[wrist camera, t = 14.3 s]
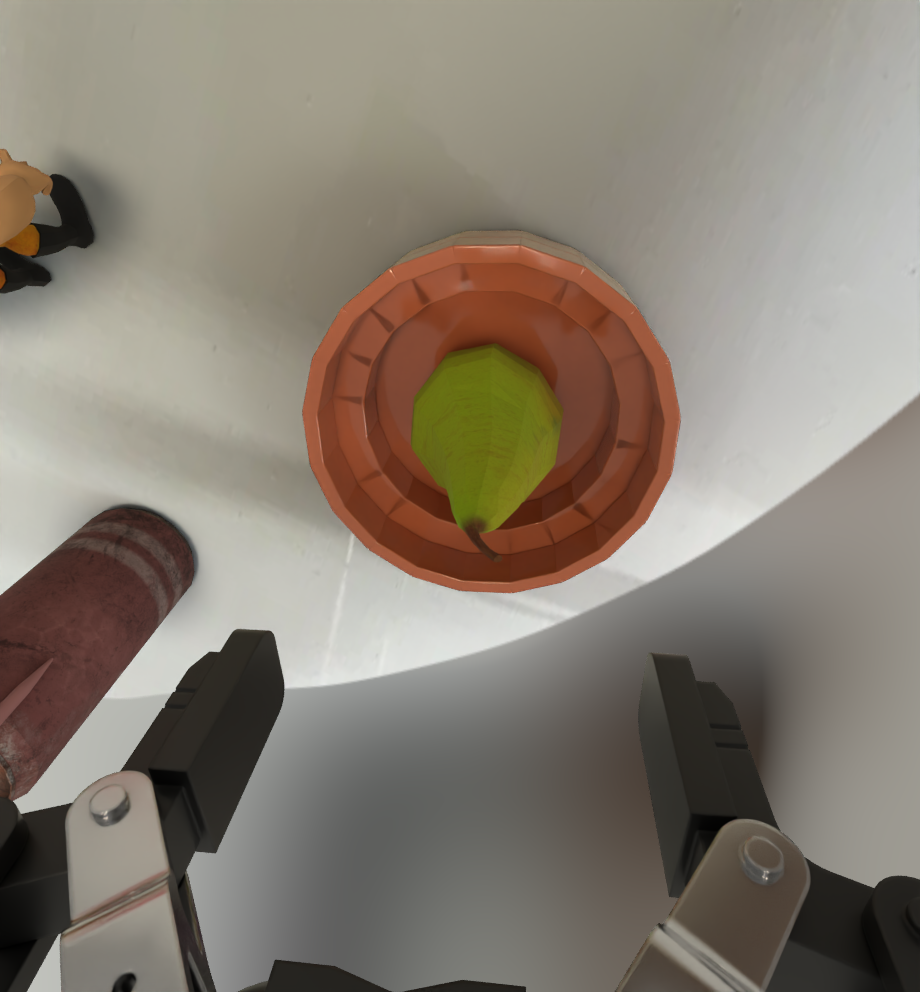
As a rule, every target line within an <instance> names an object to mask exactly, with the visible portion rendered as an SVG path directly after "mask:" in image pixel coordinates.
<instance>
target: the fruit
mask: <svg viewBox="0 0 920 992" xmlns="http://www.w3.org/2000/svg"><path fill="white" fill-rule="evenodd" d="M563 411H564V409H563V408H562V406H561V404H560V403H559V401H558V399H557V398H556V396H555V394H554V393H553V391H552V389H551V388H550V386H549V384H548V383H547V381H546V379H545V378H544V376H543V374H542V373H541V371H540V369H539V368H537V367H536V366H534V365H532V364H531V363H529V362H527V361H525V360H524V359H522V358H520V357H519V356H517V355H515V354H514V353H512V352H510V351H508V350H507V349H505V348H503V347H502V346H500V345H498V344H496V343H493V344H489V345H484V346H479V347H474V348H469V349H464V350H459V351H454V352H449V353H447V355H446V356H445V357H444V359H443V360H442V361H441V363H440V364H439V365H438V367H437V368H436V369H435V370H434V372H433V373H432V374H431V376H430V377H429V378H428V380H427V381H426V382H425V384H424V385H423V386H422V388H421V389H420V390H419V391H418V393H417V394H416V395H415V396H414V404H413V418H412V431H411V447H412V450H413V451H414V452H415V454H416V455H417V457H418V458H419V459H420V461H421V462H422V464H423V465H424V466H425V468H426V469H427V470H428V472H429V473H430V475H431V476H432V477H433V479H434V480H435V482H436V483H437V484H438V486H440V487H443V488H445V489H446V490H447V493H448V496H449V500H450V505H451V509H452V513H453V515H454V518H455V520H456V522H457V525H458V527H459V528H460V529H462V530H463V531H464V532H465V533H466V534H467V535H468V537H469V538H470V540H471V541H472V543H473V544H474V545H475V546H476V547H477V548H478V549H479V550H480V551H481V552H482V553H483V554H485V555H486V556H487V557H488V558H490V559H491V560H492V561H493V562H497V563H498V562H500V561H502V556H501V555H499V554H498V553H496V552H495V551H493V550H492V549H490V548H489V547H488V546H487V545H486V544H485V542H484V541H483V540H482V539H481V537H480V535H479V534H481V533H487V532H490V531H493V530H495V529H496V528H498V527H499V526H500V525H501V524H502V523H503V522H504V521H505V520H506V519H507V518H508V517H509V516H510V515H511V514H512V513H513V512H514V511H515V510H516V509H517V508H518V507H519V506H520V504H521V503H522V502H524V501H525V500H526V499H527V497H528V496H529V495H530V494H531V493H532V492H533V490H534V489H535V488H536V487H537V486H538V484H539V483H540V482H541V481H542V480H543V479H544V477H545V476H546V475H547V474H548V473H549V471H550V470H551V469H552V468H553V466H554V465H555V462H556V455H557V449H558V443H559V436H560V430H561V423H562V417H563Z"/></svg>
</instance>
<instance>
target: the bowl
mask: <svg viewBox="0 0 920 992" xmlns="http://www.w3.org/2000/svg"><path fill="white" fill-rule="evenodd" d="M493 343H496V344H498V345H500V346H502V347H503V348H505V349H507V350H508V351H510V352H512V353H514V354H515V355H517V356H519V357H520V358H522V359H524V360H525V361H527V362H529V363H531V364H532V365H534V366H536V367H537V368H539V369H540V371H541V373H542V374H543V376H544V378H545V379H546V381H547V383H548V384H549V386H550V388H551V389H552V391H553V393H554V394H555V396H556V398H557V399H558V401H559V403H560V404H561V406H562V408H563V409H564V411H563V417H562V423H561V430H560V436H559V443H558V449H557V455H556V462H555V465H554V466H553V468H552V469H551V470H550V471H549V473H548V474H547V475H546V476H545V477H544V479H543V480H542V481H541V482H540V483H539V484H538V486H537V487H536V488H535V489H534V490H533V492H532V493H531V494H530V495H529V496H528V497H527V499H526V500H525V501H524V502H522V503H521V504H520V506H519V507H518V508H517V509H516V510H515V511H514V512H513V513H512V514H511V515H510V516H509V517H508V518H507V519H506V520H505V521H504V522H503V523H502V524H501V525H500V526H499V527H498V528H496V529H495V530H493V531H490V532H487V533H481V534H479V535H480V537H481V539H482V540H483V541H484V542H485V544H486V545H487V546H488V547H489V548H490V549H492V550H493V551H495V552H496V553H498V554H499V555H501V556H502V561H500V562H498V563H497V562H493V561H492V560H491V559H490V558H488V557H487V556H486V555H485V554H483V553H482V552H481V551H480V550H479V549H478V548H477V547H476V546H475V545H474V544H473V543H472V541H471V540H470V538H469V537H468V535H467V534H466V533H465V532H464V531H463V530H462V529H460V528H459V527H458V525H457V522H456V520H455V518H454V515H453V513H452V509H451V505H450V500H449V496H448V493H447V490H446V489H445V488H443V487H440V486H438V484H437V483H436V482H435V480H434V479H433V477H432V476H431V475H430V473H429V472H428V470H427V469H426V468H425V466H424V465H423V464H422V462H421V461H420V459H419V458H418V457H417V455H416V454H415V452H414V451H413V450H412V447H411V431H412V418H413V404H414V396H415V395H416V394H417V393H418V391H419V390H420V389H421V388H422V386H423V385H424V384H425V382H426V381H427V380H428V378H429V377H430V376H431V374H432V373H433V372H434V370H435V369H436V368H437V367H438V365H439V364H440V363H441V361H442V360H443V359H444V357H445V356H446V355H447V353H449V352H454V351H459V350H464V349H469V348H474V347H479V346H484V345H489V344H493ZM302 412H303V414H302V415H303V421H304V428H305V435H306V442H307V448H308V455H309V462H310V465H311V468H312V470H313V472H314V474H315V476H316V478H317V480H318V482H319V484H320V487H321V489H322V491H323V493H324V495H325V497H326V499H327V501H328V503H329V505H330V507H331V509H332V511H334V513H335V514H336V515H337V516H338V518H339V519H340V520H341V521H342V522H343V523H344V524H345V525H346V526H347V527H348V528H349V529H350V530H351V531H352V533H353V534H354V535H355V536H356V537H357V538H358V539H359V540H360V541H361V542H362V543H363V544H364V545H365V547H366V548H368V549H369V550H370V551H372V552H373V553H375V554H376V555H378V556H380V557H381V558H383V559H385V560H386V561H388V562H389V563H391V564H393V565H394V566H396V567H398V568H399V569H401V570H402V571H404V572H406V573H407V574H409V575H412V576H413V577H416V578H419V579H422V580H425V581H429V582H432V583H435V584H439V585H442V586H445V587H449V588H452V589H455V590H458V591H460V590H461V591H472V592H496V593H511V592H512V593H516V592H520V591H525V590H529V589H534V588H539V587H543V586H548V585H553V584H557V583H561V582H564V581H566V580H568V579H570V578H572V577H574V576H576V575H577V574H579V573H581V572H583V571H585V570H587V569H589V568H591V567H593V566H595V565H597V564H599V563H601V562H602V561H604V560H606V559H608V558H609V557H610V556H611V555H612V554H613V553H614V552H615V551H616V550H618V549H619V548H620V547H621V546H622V545H623V544H624V543H625V542H626V541H627V540H628V539H629V538H630V537H631V536H632V535H633V534H634V533H635V532H636V531H637V530H638V529H639V528H640V527H641V526H642V525H643V524H645V522H646V521H647V520H648V518H649V516H650V514H651V512H652V510H653V508H654V507H655V505H656V503H657V501H658V499H659V497H660V495H661V494H662V492H663V490H664V488H665V486H666V484H667V482H668V481H669V479H670V477H671V474H672V472H673V466H674V459H675V453H676V447H677V441H678V434H679V428H680V422H681V420H680V419H681V415H680V410H679V405H678V400H677V395H676V390H675V385H674V379H673V374H672V369H671V364H670V361H669V359H668V357H667V355H666V354H665V352H664V350H663V349H662V347H661V346H660V344H659V342H658V341H657V339H656V337H655V336H654V334H653V332H652V331H651V329H650V328H649V326H648V324H647V323H646V321H645V319H644V318H643V316H642V314H641V313H640V311H639V310H638V308H637V307H636V305H635V304H634V302H633V301H632V300H631V298H630V297H629V295H628V294H627V293H626V291H625V290H624V288H623V287H622V286H621V285H620V284H619V283H618V282H617V281H616V280H615V279H613V278H612V277H611V276H610V275H608V274H607V273H606V272H605V271H603V270H602V269H601V268H600V267H598V266H597V265H596V264H595V263H593V262H592V261H591V260H590V259H588V258H587V257H586V256H585V255H583V254H582V253H581V252H579V251H578V250H576V249H575V248H572V247H569V246H566V245H563V244H560V243H557V242H554V241H551V240H548V239H545V238H542V237H540V236H537V235H534V234H531V233H528V232H525V231H521V230H509V231H464V232H460V233H457V234H455V235H452V236H449V237H446V238H444V239H441V240H438V241H435V242H433V243H430V244H427V245H425V246H422V247H419V248H416V249H414V250H412V251H410V252H408V253H407V254H406V255H405V256H403V257H402V258H401V259H400V260H399V261H397V262H396V263H395V264H394V265H392V266H391V267H390V268H389V269H388V270H386V271H385V272H384V273H383V274H382V275H380V276H379V277H378V278H377V279H376V280H374V281H373V282H372V283H371V284H369V285H368V286H367V287H366V288H365V289H363V290H362V291H361V292H360V293H359V294H357V295H356V296H355V297H354V298H353V299H351V300H350V301H349V302H348V303H347V304H345V305H344V306H343V307H342V308H341V310H340V311H339V313H338V315H337V317H336V318H335V320H334V322H333V323H332V325H331V327H330V328H329V330H328V332H327V334H326V335H325V337H324V339H323V340H322V342H321V344H320V345H319V347H318V349H317V351H316V352H315V354H314V356H313V359H312V362H311V367H310V372H309V378H308V383H307V389H306V394H305V399H304V405H303V410H302Z"/></svg>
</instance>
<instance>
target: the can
mask: <svg viewBox="0 0 920 992" xmlns="http://www.w3.org/2000/svg"><path fill="white" fill-rule="evenodd" d="M194 572H195V571H194V564H193V557H192V551H191V549H190V547H189V545H188V543H187V541H186V539H185V538H184V537H183V535H182V534H181V533H180V532H179V531H178V530H177V529H176V528H175V527H174V526H173V525H172V524H170V523H169V522H167V521H166V520H164V519H163V518H162V517H160V516H157V515H155V514H152V513H150V512H147V511H144V510H137V509H129V508H120V509H114V510H108V511H104V512H102V513H101V514H99V515H97V516H96V517H94V518H92V519H91V520H90V521H89V522H88V523H86V524H85V525H84V526H83V527H82V528H80V529H79V530H78V531H77V532H76V533H74V534H73V535H72V536H71V537H70V538H68V539H67V540H66V541H65V542H64V543H63V544H61V545H60V546H59V547H58V548H57V549H55V550H54V551H53V552H52V553H51V554H49V555H48V556H47V557H46V558H45V559H43V560H42V561H41V562H40V563H39V564H37V565H36V566H35V567H34V568H33V569H31V570H30V571H29V572H28V573H27V574H25V575H24V576H23V577H22V578H21V579H19V580H18V581H17V582H16V583H15V584H13V585H12V586H11V587H10V588H9V589H7V590H6V591H5V592H4V593H3V594H2V595H0V797H5V798H8V799H10V800H11V801H13V800H15V799H17V798H19V797H21V796H23V795H25V794H27V793H28V792H29V791H30V789H31V788H32V787H33V786H34V785H35V784H36V782H37V781H38V780H39V779H40V777H41V776H42V775H43V774H44V772H45V771H46V770H47V768H48V767H49V766H50V765H51V763H52V762H53V761H54V759H55V758H56V757H57V756H58V754H59V753H60V752H61V750H62V749H63V748H64V747H65V745H66V744H67V743H68V741H69V740H70V739H71V738H72V736H73V735H74V734H75V733H76V731H77V730H78V729H79V728H80V726H81V725H82V724H83V722H84V721H85V720H86V718H87V717H88V716H89V714H90V713H91V712H92V711H93V710H94V708H95V707H96V706H97V704H98V703H99V702H100V701H101V699H102V698H103V697H104V696H105V694H106V693H107V692H108V690H109V689H110V688H111V687H112V685H113V684H114V683H115V681H116V680H117V679H118V678H119V676H120V675H121V674H122V673H123V671H124V670H125V669H126V667H127V666H128V665H129V664H130V662H131V661H132V660H133V658H134V657H135V656H136V655H137V653H138V652H139V651H140V650H141V648H142V647H143V646H144V644H145V643H146V642H147V641H148V639H149V638H150V637H151V635H152V634H153V633H154V632H155V630H156V629H157V628H158V626H159V625H160V624H161V623H162V621H163V620H164V619H165V618H166V616H167V615H168V614H169V612H170V611H171V610H172V609H173V607H174V606H175V605H176V603H177V602H178V601H179V600H180V598H181V597H182V596H183V595H184V593H185V592H186V591H187V589H188V588H189V587H190V586H191V584H192V580H193V576H194Z"/></svg>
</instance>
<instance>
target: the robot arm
mask: <svg viewBox="0 0 920 992" xmlns="http://www.w3.org/2000/svg"><path fill="white" fill-rule="evenodd" d="M283 698H284V679H283V674H282V669H281V665H280V660H279V655H278V651H277V646H276V641H275V637H274V634H273V633H272V632H271V631H265V630H246V629H236V630H235V631H233V632H232V634H231V635H230V637H229V638H228V640H227V642H226V643H225V645H224V646H223V648H222V650H221V651H220V652H208V653H207V654H206V655H205V656H204V657H202V658H201V659H200V660H199V661H197V662H196V663H195V664H194V665H192V666H191V667H190V668H189V669H188V670H187V672H186V673H185V675H184V677H183V678H182V680H181V681H180V683H179V684H178V686H177V687H176V691H175V692H173V693H172V695H171V696H170V698H169V699H168V701H167V702H166V704H165V708H162V710H161V711H160V713H159V714H158V716H157V717H156V719H155V720H154V722H153V723H152V725H151V726H150V728H149V729H148V731H147V732H146V734H145V735H144V737H143V738H142V740H141V741H140V743H139V744H138V746H137V747H136V749H135V750H134V752H133V753H132V755H131V756H130V758H129V759H128V761H127V762H126V764H125V765H124V767H123V768H122V770H121V771H120V772H116V773H112V774H110V775H107V776H105V777H103V778H101V779H99V780H97V781H95V782H94V783H92V784H91V785H90V786H88V787H87V788H86V789H85V790H83V791H82V792H81V793H80V794H79V796H78V797H77V798H76V799H75V800H74V802H73V803H69V804H66V805H61V806H56V807H52V808H47V809H43V810H38V811H33V812H29V813H24V814H21V813H20V812H19V810H18V808H17V806H16V805H15V803H14V802H13V801H11V800H10V799H8V798H5V797H0V992H27V990H28V988H29V987H30V985H31V983H32V981H33V979H34V978H35V976H36V974H37V972H38V970H39V968H40V967H41V965H42V963H43V961H44V959H45V958H46V956H47V954H48V952H49V950H50V949H51V947H52V945H53V943H54V941H55V939H56V938H57V936H58V934H60V933H61V937H60V964H61V965H60V968H61V992H216V989H215V985H214V982H213V979H212V976H211V973H210V969H209V965H208V961H207V957H206V952H205V948H204V944H203V940H202V935H201V931H200V926H199V922H198V917H197V912H196V908H195V904H194V899H193V895H192V890H191V886H190V881H189V877H188V874H187V871H186V869H187V867H188V865H189V863H190V861H191V859H192V857H193V854H194V853H195V851H197V852H207V853H216V852H217V850H218V847H219V845H220V843H221V841H222V839H223V836H224V834H225V832H226V830H227V827H228V825H229V823H230V821H231V819H232V816H233V814H234V812H235V810H236V808H237V805H238V803H239V801H240V799H241V796H242V794H243V792H244V790H245V788H246V785H247V783H248V781H249V778H250V777H251V774H252V772H253V770H254V768H255V765H256V763H257V761H258V759H259V756H260V754H261V752H262V750H263V748H264V746H265V743H266V741H267V739H268V737H269V734H270V732H271V730H272V728H273V726H274V723H275V721H276V719H277V717H278V714H279V712H280V710H281V707H282V703H283ZM638 723H639V734H640V741H641V746H642V752H643V756H644V762H645V767H646V773H647V779H648V784H649V789H650V795H651V800H652V806H653V811H654V817H655V822H656V828H657V833H658V838H659V844H660V849H661V855H662V860H663V866H664V871H665V877H666V882H667V887H668V893H669V897H676V898H679V899H678V901H677V902H676V904H675V906H674V907H673V909H672V911H671V912H670V914H669V916H668V917H667V919H666V920H665V922H664V923H663V924H660V923H659V924H658V925H656V927H655V928H654V929H653V930H652V932H651V933H650V934H649V936H648V938H647V939H646V941H645V943H644V944H643V946H642V947H641V949H640V951H639V952H638V954H637V956H636V957H635V959H634V961H633V962H632V964H631V965H630V968H629V969H628V971H627V972H626V974H625V975H624V977H623V979H622V980H621V982H620V984H619V985H618V987H617V989H616V990H615V992H920V880H919V879H916V878H912V877H907V876H891V877H888V878H885V879H883V880H882V881H880V882H879V883H878V884H877V886H876V887H875V888H872V887H870V886H867V885H864V884H861V883H859V882H856V881H854V880H851V879H848V878H846V877H843V876H841V875H837V874H835V873H833V872H830V871H828V870H826V869H823V868H821V867H819V866H818V865H816V864H814V863H812V862H811V861H810V860H808V859H807V858H805V857H804V856H803V854H802V852H801V851H800V850H799V848H798V847H797V846H796V845H795V844H794V842H793V841H792V840H791V839H790V838H788V837H787V836H786V835H785V834H784V833H782V832H781V831H780V829H779V827H778V826H777V823H776V821H775V819H774V816H773V813H772V810H771V808H770V805H769V802H768V799H767V797H766V794H765V792H764V788H763V785H762V783H761V780H760V778H759V775H758V772H757V769H756V766H755V764H754V761H753V758H752V755H751V752H750V750H748V744H747V741H746V739H745V736H744V734H743V731H742V730H741V725H740V722H739V719H738V717H737V714H736V711H735V709H734V706H733V703H732V702H731V701H730V699H729V698H728V697H727V696H726V695H725V694H724V693H723V692H722V690H721V689H720V688H719V687H718V686H717V685H716V683H714V682H700V681H696V680H695V676H694V674H693V670H692V667H691V664H690V661H689V658H688V656H687V655H685V654H666V653H649V654H648V655H647V660H646V665H645V671H644V678H643V683H642V690H641V696H640V702H639V712H638ZM238 992H391V991H388V990H386V989H384V988H381V987H380V986H377V985H375V984H373V983H371V982H369V981H366V980H364V979H362V978H360V977H358V976H355V975H353V974H351V973H349V972H346V971H344V970H342V969H340V968H338V967H335V966H329V965H319V964H310V963H301V962H291V961H282V960H275V961H274V965H273V968H272V971H271V974H270V977H269V980H268V981H266V982H261V983H258V984H255V985H253V986H250V987H247V988H244V989H242V990H240V991H238ZM405 992H526V987H523V986H514V985H505V984H496V983H486V982H476V981H468V980H460V981H455V982H449V983H444V984H439V985H435V986H429V987H424V988H419V989H414V990H409V991H405Z"/></svg>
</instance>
